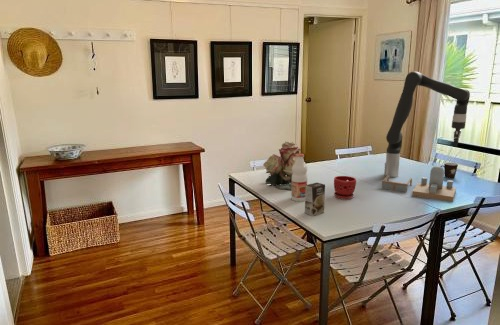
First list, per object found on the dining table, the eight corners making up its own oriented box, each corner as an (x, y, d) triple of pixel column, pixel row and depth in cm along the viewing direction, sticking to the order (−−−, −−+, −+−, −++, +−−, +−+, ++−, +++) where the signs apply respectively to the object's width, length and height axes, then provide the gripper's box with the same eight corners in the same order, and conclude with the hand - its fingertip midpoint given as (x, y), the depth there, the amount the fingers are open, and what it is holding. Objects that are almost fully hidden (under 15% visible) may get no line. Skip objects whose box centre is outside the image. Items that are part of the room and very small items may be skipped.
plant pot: (351, 201, 216) (352, 182, 213) (330, 198, 223) (331, 179, 220) (358, 195, 227) (359, 176, 224) (337, 192, 234) (338, 174, 231)
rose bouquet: (259, 186, 250) (258, 142, 243) (285, 176, 270) (285, 136, 263) (289, 193, 233) (289, 147, 226) (314, 183, 253) (315, 140, 246)
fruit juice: (294, 195, 228) (295, 152, 222) (309, 198, 224) (310, 153, 217) (288, 200, 220) (289, 155, 214) (303, 202, 216) (304, 156, 209)
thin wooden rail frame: (381, 188, 240) (381, 180, 239) (387, 181, 254) (387, 174, 253) (406, 192, 232) (407, 184, 230) (411, 185, 246) (412, 177, 244)
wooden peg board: (412, 195, 225) (414, 169, 221) (417, 186, 242) (420, 162, 238) (452, 201, 213) (455, 174, 209) (455, 191, 230) (458, 166, 226)
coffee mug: (455, 176, 264) (457, 162, 261) (456, 179, 256) (458, 165, 254) (437, 174, 269) (439, 161, 266) (438, 177, 261) (439, 164, 259)
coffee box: (313, 216, 195) (313, 187, 191) (304, 213, 200) (305, 184, 196) (324, 212, 200) (325, 184, 196) (316, 209, 205) (317, 181, 201)
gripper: (453, 119, 241) (449, 143, 245) (451, 121, 230) (448, 146, 234) (466, 119, 238) (462, 144, 242) (465, 122, 226) (461, 148, 230)
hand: (455, 145), depth 238 cm, fingers open, 8 cm apart
